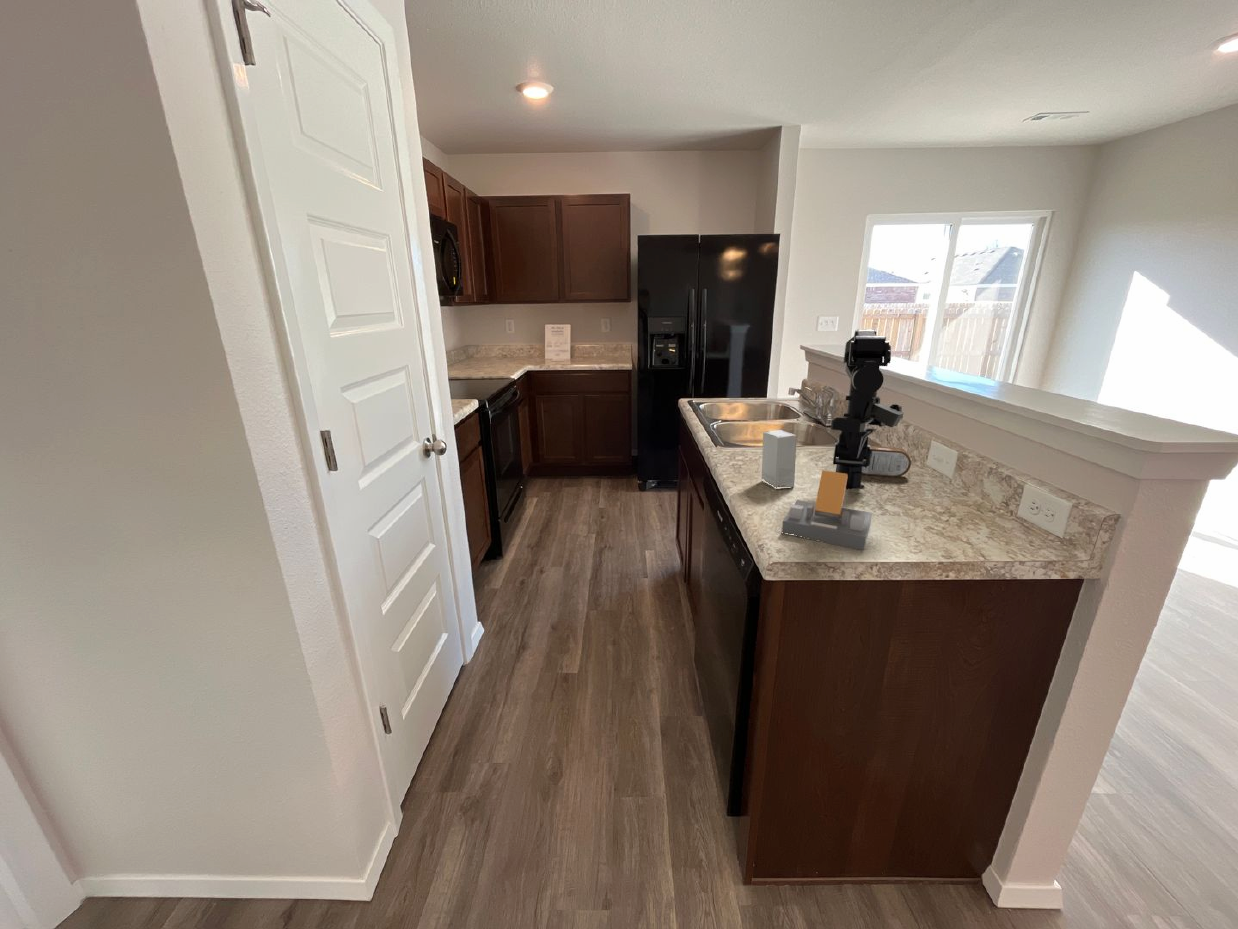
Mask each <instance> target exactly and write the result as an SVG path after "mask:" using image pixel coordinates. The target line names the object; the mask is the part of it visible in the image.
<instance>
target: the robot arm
mask: <svg viewBox="0 0 1238 929" xmlns="http://www.w3.org/2000/svg"><path fill="white" fill-rule="evenodd" d="M891 359H892V346H891V345H890V341H889V340H887V337H886V335H877V330H875V329H873V328H872V329H870V328H869V329H863V328H862V329H857V330H854V335H853V336H852V337H851V338H850V339H849V340H848V341H846V343H845V346H844V353H843V364H845V370H844V371H845V373H846V374H847V376H848V378H849V379H850V381H849V391H848V395H846V396H845V401H847V411H846V412H845V413H843V416H837V417H834V418H833V419H832V420H831V424H830V430H832V431H833V430H834V431H840V434H839V436H838V441H837V442H835V443H834V449H833V458H832V465H836V467H835V468H836V469H835V472H837V473H845V474H847V475H848V478H847V484H846V489H845V491H846V490H852V489H862V488H865V485H864V484H862V479H863V478H862V477H863V474H862V467H867V466H869V465H870V459H871V455H872V450H871V448H870V446H871V445H870V444H868V443H869V436H870V435H872V434H873V433H874V432H876V431H877V428H871V426H878V427H881V428H883V427H885V426H887V427H890V428H894V427H897V426H898V425H899V423H900V421H901V420H902V419H903V417H904V412H903V411H902V410H903V408H902V406H901V405H899V404H897V403H893V404H891V405H885V404H882V403H881V398H880V396H877V395H878V391H879V390H880V389H881V387H882V386H883V383H884V375H883V372H882V371H881V370H880V367H888V364H890V363H891Z"/></svg>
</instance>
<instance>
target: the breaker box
mask: <svg viewBox="0 0 1238 929" xmlns="http://www.w3.org/2000/svg"><path fill="white" fill-rule="evenodd" d="M815 505H816V502H810V501H804V500H798V499H796V501H795V502H794V504H791V505H790V508H789V511H788V512H787V514H786V516H785V517H784V519H783V520H782V528H781V533H782V532H783V533H788V534H794V535H797V536H802V537H805V538H804V539H806V538H809V539H808V540H811V539H812V540H811V541H816V540H819V541H818V542H820V541H823V542H822V543H825V542H826V544H831V545H834V546H835V545H836V546H842V547H846V548H851V549H856V550H858V551H859V550H860V551H865V547H866V543H867V539H868V536H869V531H870V528H871V522H872V517H873V515H872V514H873V512H869V511H863V510H858V509H853V508H852V509H851V508H847V507H842V511H841V516H840V518H839V519H834V518H829V517H823V516H818V515H815Z"/></svg>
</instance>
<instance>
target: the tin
mask: <svg viewBox="0 0 1238 929" xmlns="http://www.w3.org/2000/svg"><path fill="white" fill-rule="evenodd" d="M870 448H871V450H872V455H871V459H870V465H869V466H867V467H862V475H866V476H876V477H885V478H886V477H889V478H899V477H902V476H904V475H906V474H907V473H908V472H909V470H910V469H911V466H912V460H911V456H910V455H909V453H908V452H907V451H906V450H905V449H902V448H900V447H887V446H877V445H874V446H873V445H870Z"/></svg>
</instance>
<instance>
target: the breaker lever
mask: <svg viewBox="0 0 1238 929" xmlns="http://www.w3.org/2000/svg"><path fill="white" fill-rule="evenodd" d="M820 474H821V475H820V480H819V486H818V490H817V495H816V501H815V503H816V505H815V515H818V516H823V517H829V518H834V519H839V518H840V516H841V511H842V508H843V504H844V498H845V494H846V490H847V489H846V484H847V478H848V475H847V474H845V473H837V472H836V471H829V470H824V469H823V470H821V473H820ZM845 489H846V490H845Z"/></svg>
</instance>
